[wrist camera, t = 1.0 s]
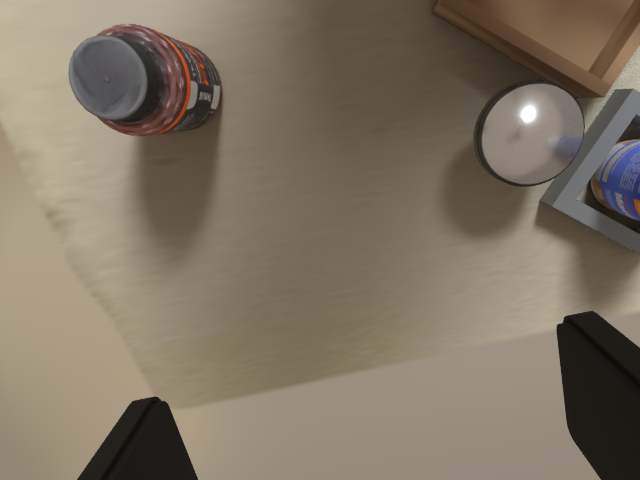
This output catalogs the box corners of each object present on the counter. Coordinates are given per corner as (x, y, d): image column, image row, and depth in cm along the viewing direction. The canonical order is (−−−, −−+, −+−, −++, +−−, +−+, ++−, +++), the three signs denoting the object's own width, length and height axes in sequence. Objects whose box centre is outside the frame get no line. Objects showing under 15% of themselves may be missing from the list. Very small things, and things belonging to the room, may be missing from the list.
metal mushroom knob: (488, 67, 32) (519, 60, 26) (564, 110, 32) (609, 112, 27) (440, 149, 33) (459, 158, 28) (512, 188, 34) (545, 204, 29)
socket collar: (615, 89, 32) (633, 88, 30) (717, 149, 33) (740, 152, 31) (539, 200, 34) (551, 206, 32) (636, 252, 35) (653, 261, 33)
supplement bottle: (240, 81, 33) (191, 70, 22) (194, 146, 34) (127, 166, 23) (171, 25, 32) (85, -16, 21) (128, 94, 33) (26, 90, 22)
